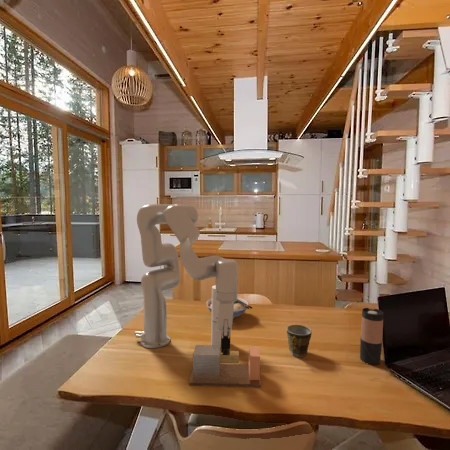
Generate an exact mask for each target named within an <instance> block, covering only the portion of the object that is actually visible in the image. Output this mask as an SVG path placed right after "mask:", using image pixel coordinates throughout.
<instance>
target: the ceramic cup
mask: <svg viewBox="0 0 450 450" xmlns="http://www.w3.org/2000/svg"><path fill="white" fill-rule="evenodd" d="M312 333H313V332H312V329H311V328H310V327H308V326H306V325H302V324H290V325H288V326H287V327H286V336H287V341H288V350H289V353H290V354H291V355H292V356H293V357H297V358H303V357H304V356H305V357H306V356H307V354H308V350H309V346H310V341H311V337H312Z"/></svg>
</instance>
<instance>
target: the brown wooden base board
mask: <svg viewBox="0 0 450 450" xmlns="http://www.w3.org/2000/svg"><path fill="white" fill-rule="evenodd" d="M220 351H221V347H220V345H212V344H195V347H194V350H193V355H192V357H193V359H192V360H193V361H192V369H191V373H190V378H189V382H188V385H189V386H195V387H196V386H198V387H200V386H201V387H229V388H230V387H234V388H235V387H237V388H261V385H262V384H261V379H260V378H259V380H250V377H249V363H248V364H243V363H242V364H241V363H239V364H230V363H220Z"/></svg>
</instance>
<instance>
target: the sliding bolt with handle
mask: <svg viewBox="0 0 450 450" xmlns="http://www.w3.org/2000/svg"><path fill="white" fill-rule="evenodd" d="M223 329H224V328H223ZM228 329H229V328H228ZM223 333H224V331H223ZM220 364H240V351H239V350H231V348H230V349H221V348H220Z"/></svg>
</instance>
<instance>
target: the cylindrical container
mask: <svg viewBox="0 0 450 450" xmlns="http://www.w3.org/2000/svg"><path fill="white" fill-rule="evenodd" d="M211 299H212V313H211V321H210V322H211V325H210V327H211V329H210V330H211V331H210V332H211V334H210V335H211V336H210V338H211V339H210V341H211V342H210V345H220V348H221V332H222V330H219V331H218V301H216V284H214V285H212V286H211Z"/></svg>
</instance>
